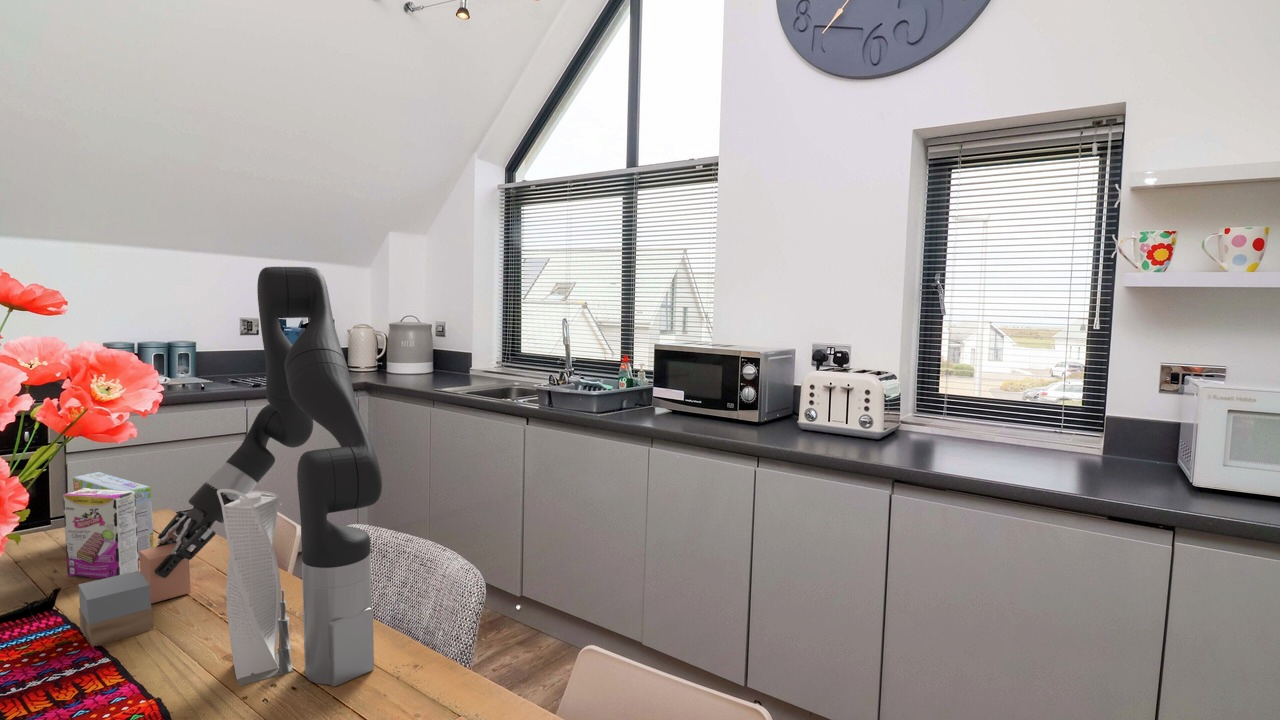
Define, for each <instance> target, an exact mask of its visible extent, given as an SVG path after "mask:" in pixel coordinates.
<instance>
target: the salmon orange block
mask: <svg viewBox="0 0 1280 720" xmlns="http://www.w3.org/2000/svg"><path fill="white" fill-rule="evenodd" d="M176 544H177V543H172V544H168V545H164V546H160V547H156V546H154V548H151V549H146V550H142V551H139V554H140V559H139V572H140V573H141V574H142V576H143V577H144V578H145V579H146V581H147V582H148V583H149V585H150V599H151V604H154V603H159V602H162V601H165V600H168V599H172V598H176V597H179V596H183V595H188V594H190V593H191V573H190V571H191V570H190V560H188V559H185V560H182V561H181V562H180V563H179V564H178V565H177V566H176V567H175V568H174V570H173V571H172V572H171V573H170V574H169V575H168V576H167V577H166V578H163V577H161V576H159V575H157V574H156V573H155V570H156V569H157V567H158V566H159V565H160V564H161V563H162V562H163V561H164V560H165V559H166V557H167V556H168V555H169V554H171V552H172V551H173V549H174V547H175V546H176Z"/></svg>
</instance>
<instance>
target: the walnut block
mask: <svg viewBox="0 0 1280 720" xmlns="http://www.w3.org/2000/svg"><path fill="white" fill-rule="evenodd" d="M78 612H79V627H80V629H79V630H80V632H81V633H83V634H82V635H83V636H84V638H85V637H86V638H85V639H86V641H87V642H88V644H89V643H90V644H89V645H90V646H92V647H91V648H95V647H94V646H96V647H98V646H102V645H105V644H108V643H112V642H116V641H119V640H122V639H125V638H130V637H133V636H135V635H136V636H137V635H139V634H142V633H145V632H146V633H147V632H149V631H151V630H154V615H153V614H154V613H153V606H152V605H151V609H148V610H144V611H140V612H136V613H132V614H129V615H125V616H121V617H117V618H114V619H110V620H106V621H102V622H98V623H95V624H91V625H88V623H87V621H86V619H85V617H84V615H83V613H82V611H81V609H80V607H78Z"/></svg>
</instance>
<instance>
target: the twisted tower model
mask: <svg viewBox="0 0 1280 720" xmlns="http://www.w3.org/2000/svg"><path fill="white" fill-rule="evenodd" d="M222 492H228V493H233V494H237V495H239V496H240V497H239V500H236V501H234V502H231V503H228V504H226V505H224V503H223V500H222V497H221V494H220V493H222ZM217 494H218V497H219V500H220V503H221V506H222V512H223V519H224V523H223V524H224V528H225V529H224V531H225V536H226V541H227V546H228V551H229V555H228V556H229V557H228V561H227V569H226V584H225V585H226V590H225V591H226V593H225V594H226V616H227V624H228V632H229V633H228V634H229V640H230V647H231V648H230V649H231V655H232V659H233V662H232V664H233V669H234V673H235V678H236V681H237V685H238V687H242V686H246V685H250V684H253V683H257V682H261V681H264V680H269V679H271V678H275V677H279V676H281V675H282V676H283V675H286V674H290V673H293V672H294V668H293V664H292V658H291V649H292V645H291V637H290V630H289V626H290V618H291V617H289V616H288V615H287V600H285V589H282V585H281V584H282V583H281V575H280V569H279V565H278V560H277V556H276V554H275V551H274V547H273V542H274V536H275V532H276V531H275V530H276V525H277V517H278V511H279V502H280V496H279V495H278V494H277V493H275V492H271V491H265V490H254V489H253V490H252V491H249V492H248V493H247V494H243V493H241V492H238V491H235V490H231V489H220V490H218V491H217ZM262 495H268V496H262ZM277 641H278V642H277ZM277 643H278V648H277V652H276V647H277Z"/></svg>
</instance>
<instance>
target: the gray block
mask: <svg viewBox="0 0 1280 720" xmlns="http://www.w3.org/2000/svg"><path fill="white" fill-rule="evenodd" d="M78 598H79V608H80V609H81V611H82V613H83V615H84V617H85V619H86V621H87V623H88V625H91V624H95V623H98V622H102V621H106V620H110V619H114V618H117V617H121V616H125V615H129V614H132V613H136V612H140V611H144V610H148V609H151V606H152V603H151V599H150V585H149V583H148V582H147V581H146V579H145V578H144V577H143V576H142V574H141V573H140V570H139V571H135V572H131V573H126V574H122V575H118V576H113V577H109V578H105V579H101V578H99V579H95V580H91V581H88V582H84V583H79V584H78Z"/></svg>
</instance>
